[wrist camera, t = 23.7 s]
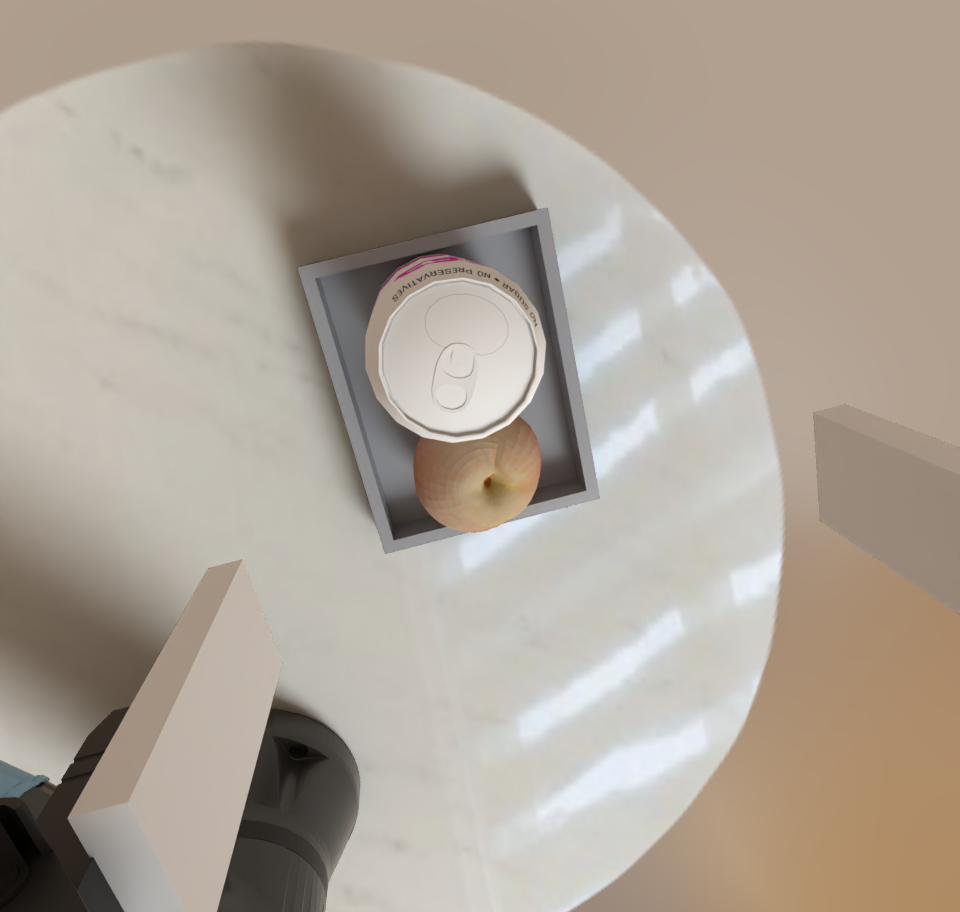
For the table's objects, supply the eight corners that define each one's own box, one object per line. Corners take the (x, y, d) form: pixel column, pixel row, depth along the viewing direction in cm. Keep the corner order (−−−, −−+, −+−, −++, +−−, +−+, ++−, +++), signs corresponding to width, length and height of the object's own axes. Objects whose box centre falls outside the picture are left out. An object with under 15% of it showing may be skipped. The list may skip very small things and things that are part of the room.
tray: (385, 535, 48) (385, 554, 45) (304, 265, 42) (297, 267, 39) (587, 482, 48) (599, 498, 46) (537, 209, 42) (547, 207, 39)
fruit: (520, 504, 48) (544, 555, 40) (407, 499, 47) (410, 550, 39) (534, 395, 45) (562, 427, 38) (416, 386, 44) (420, 417, 37)
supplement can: (385, 239, 41) (381, 242, 27) (514, 270, 43) (574, 287, 28) (362, 368, 43) (347, 433, 29) (485, 393, 45) (528, 466, 31)
